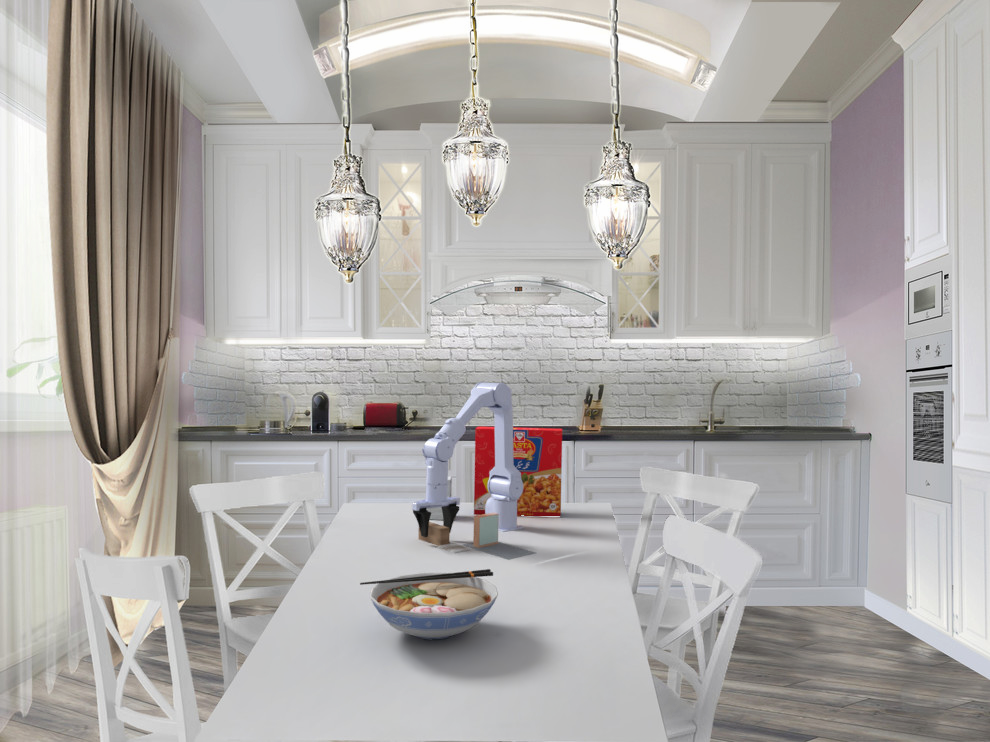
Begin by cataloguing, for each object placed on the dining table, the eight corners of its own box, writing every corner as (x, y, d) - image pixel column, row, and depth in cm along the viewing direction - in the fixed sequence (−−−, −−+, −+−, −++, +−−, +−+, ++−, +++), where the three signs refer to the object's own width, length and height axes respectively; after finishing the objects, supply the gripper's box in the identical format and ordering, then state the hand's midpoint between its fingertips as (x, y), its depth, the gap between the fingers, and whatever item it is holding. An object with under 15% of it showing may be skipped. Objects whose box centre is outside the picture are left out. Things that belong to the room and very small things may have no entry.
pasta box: (473, 514, 222) (475, 428, 222) (476, 509, 230) (478, 426, 230) (560, 518, 220) (562, 430, 220) (560, 512, 228) (562, 428, 228)
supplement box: (449, 520, 213) (450, 479, 213) (425, 519, 213) (426, 479, 213) (451, 515, 221) (452, 476, 221) (428, 514, 221) (429, 475, 221)
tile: (473, 546, 181) (473, 515, 181) (493, 542, 185) (493, 512, 185) (478, 547, 179) (479, 517, 179) (498, 543, 184) (499, 513, 184)
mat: (461, 546, 182) (461, 544, 182) (489, 540, 189) (489, 539, 189) (508, 561, 169) (508, 559, 169) (536, 554, 175) (536, 552, 175)
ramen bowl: (369, 666, 108) (370, 614, 108) (356, 615, 130) (357, 572, 130) (520, 650, 115) (521, 602, 115) (484, 605, 137) (485, 564, 137)
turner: (415, 541, 186) (415, 523, 186) (429, 538, 190) (430, 520, 190) (454, 554, 174) (454, 534, 174) (469, 551, 177) (469, 532, 177)
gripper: (423, 488, 176) (422, 541, 176) (467, 483, 186) (466, 533, 185) (408, 484, 181) (406, 536, 181) (451, 479, 191) (450, 528, 191)
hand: (435, 534), depth 184 cm, fingers open, 7 cm apart
